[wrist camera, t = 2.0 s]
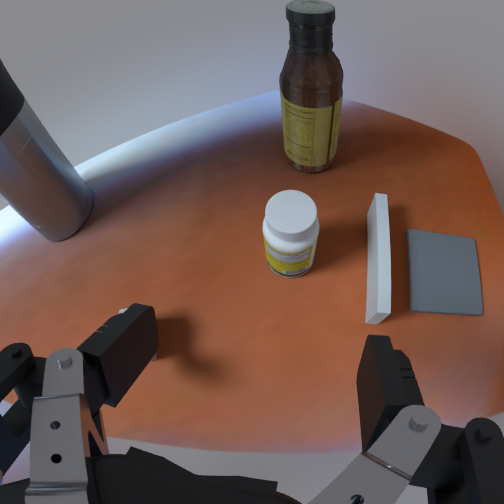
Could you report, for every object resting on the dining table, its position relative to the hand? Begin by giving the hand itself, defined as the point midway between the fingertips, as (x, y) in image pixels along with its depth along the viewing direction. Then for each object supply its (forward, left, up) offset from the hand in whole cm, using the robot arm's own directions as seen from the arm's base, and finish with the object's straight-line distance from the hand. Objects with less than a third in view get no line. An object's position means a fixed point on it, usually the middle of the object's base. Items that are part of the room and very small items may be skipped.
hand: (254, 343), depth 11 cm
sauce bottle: (+1, +25, -17) cm, 30 cm away
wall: (+9, +12, -17) cm, 22 cm away
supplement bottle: (0, +12, -17) cm, 21 cm away
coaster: (+17, +12, -17) cm, 27 cm away
